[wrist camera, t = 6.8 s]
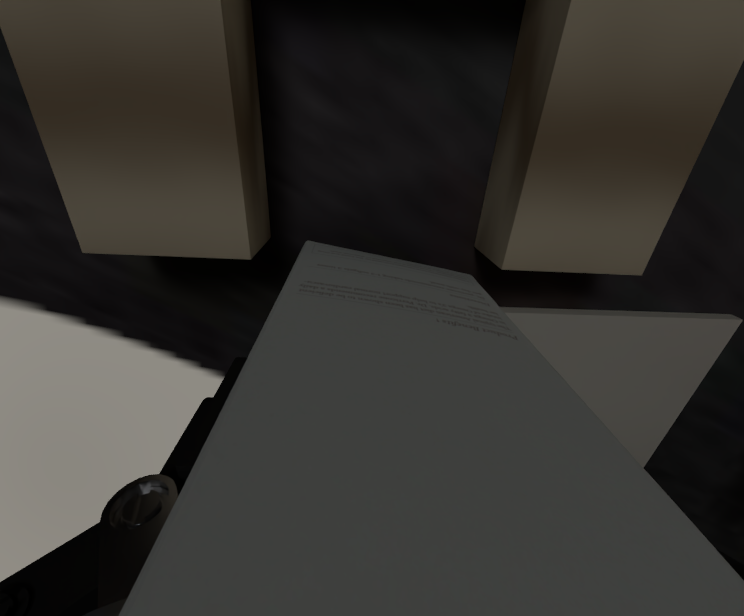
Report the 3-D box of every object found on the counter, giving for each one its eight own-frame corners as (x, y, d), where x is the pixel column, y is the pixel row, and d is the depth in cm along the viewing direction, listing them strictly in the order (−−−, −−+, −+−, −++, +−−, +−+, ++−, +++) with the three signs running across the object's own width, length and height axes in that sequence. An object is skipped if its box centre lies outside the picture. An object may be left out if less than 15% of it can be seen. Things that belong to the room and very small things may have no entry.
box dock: (-27, -364, 7) (-252, -664, 5) (773, -230, 9) (959, -396, 6) (136, 231, 13) (82, 252, 11) (589, 251, 15) (641, 275, 12)
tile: (471, 306, 16) (475, 311, 15) (730, 314, 17) (742, 319, 16) (431, 485, 22) (432, 494, 22) (620, 483, 23) (627, 492, 23)
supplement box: (283, 380, 16) (98, 974, 4) (305, 234, 12) (-161, 1058, 1) (425, 402, 17) (564, 926, 6) (479, 273, 14) (1074, 901, 2)
